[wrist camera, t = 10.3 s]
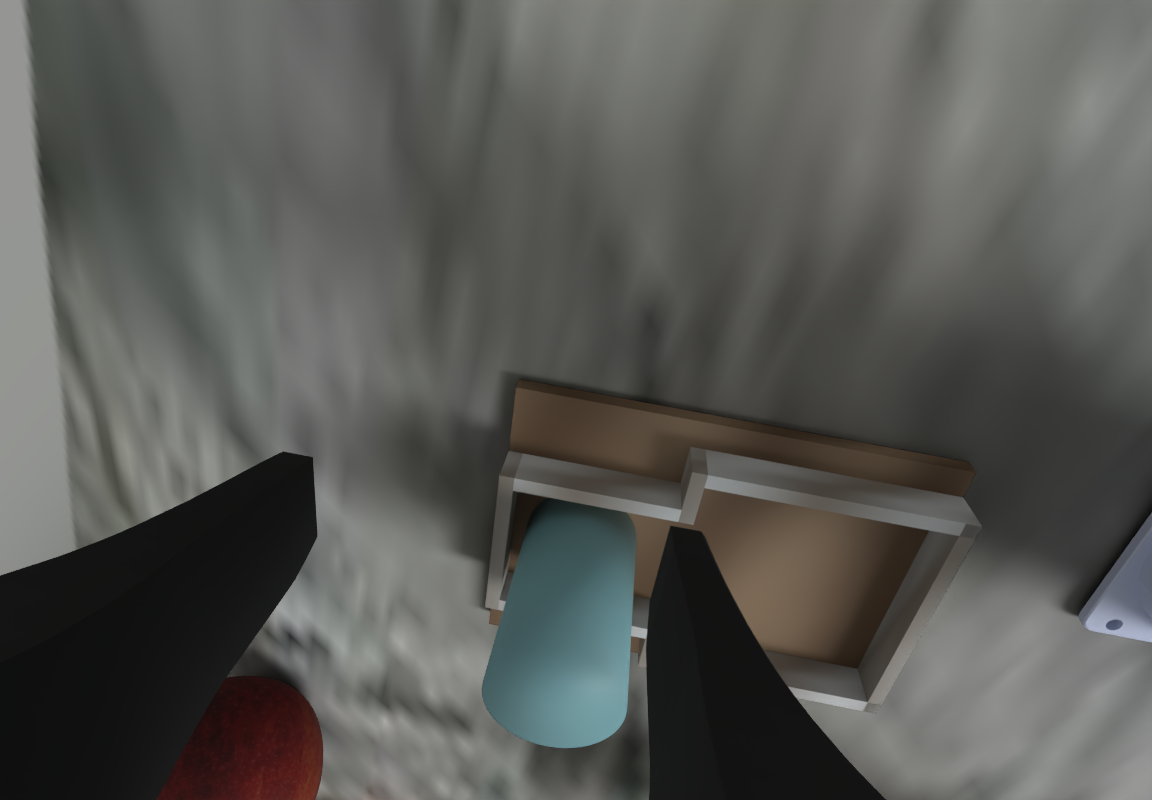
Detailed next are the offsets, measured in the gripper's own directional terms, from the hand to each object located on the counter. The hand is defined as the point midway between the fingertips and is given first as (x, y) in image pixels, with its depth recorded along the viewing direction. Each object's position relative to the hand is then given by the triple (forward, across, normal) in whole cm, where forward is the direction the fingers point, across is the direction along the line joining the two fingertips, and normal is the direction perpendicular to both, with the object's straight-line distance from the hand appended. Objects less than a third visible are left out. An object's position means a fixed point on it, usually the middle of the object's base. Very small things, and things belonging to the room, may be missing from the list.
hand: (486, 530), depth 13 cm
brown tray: (+9, -6, +7) cm, 13 cm away
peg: (+9, -2, +7) cm, 11 cm away
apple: (+10, +11, +21) cm, 26 cm away
